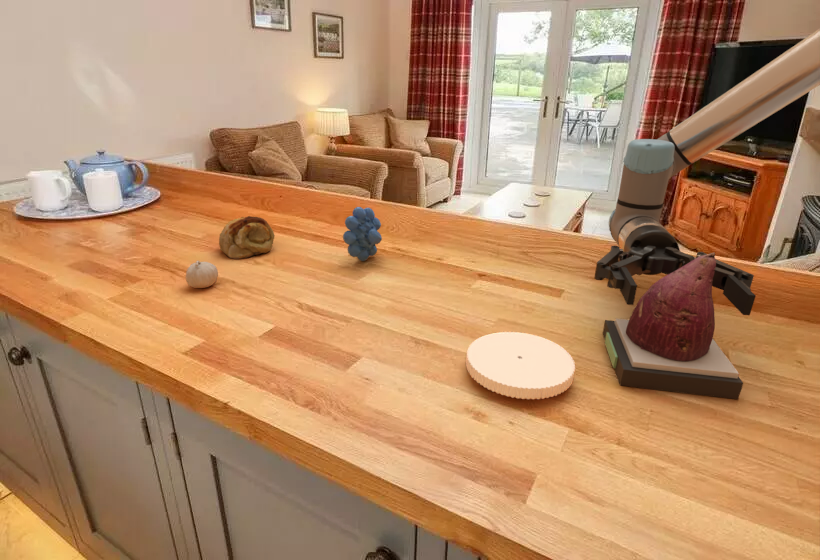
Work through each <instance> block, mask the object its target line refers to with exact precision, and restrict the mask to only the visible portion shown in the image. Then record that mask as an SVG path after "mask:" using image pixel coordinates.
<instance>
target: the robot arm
mask: <svg viewBox="0 0 820 560" xmlns="http://www.w3.org/2000/svg"><path fill="white" fill-rule="evenodd" d="M819 86H820V28H818V29H817V30H815V31H814V32H812V33H811V34H810V35H808V36H806V37H805V38H804V39H802V40H801V41H799V42H797V43H796V44H795V45H794V46H792V47H790V48H789V49H787V50H786V51H784V52H783V53H782V54H780V55H779V56H776V58H774V59H773V60H771V61H770V62H769V63H766V64H765V65H764V66H762V67H761V68H760V69H758V70H756V71H755V72H754V73H752V74H751V75H749V76H747V77H746V78H745V79H743V80H742V81H741V82H739V83H737V84H736V85H734V86H733V87H732V88H730V89H728V90H727V91H726V92H724V93H722V94H721V95H720V96H718V97H716V98H715V99H714V100H713V101H711V102H710V103H708V104H707V105H705V106H703V107H702V108H700V109H699V110H697V111H696V112H695V113H694V114H692V115H691V116H689V117H688V118H686V119H685V120H683V121H682V122H680V123H678V124H677V125H676V126H675V127H673V128H671V129H670V130H669V131H668V132H666V133H664V134H663V135H660V137H658V138H657V139H654V138H637V139H632V140H631V141H629V142H628V144H627V148H626V152H625V155H624V158H623V161H622V163H623V166H622V171H621V172H622V173H621V179H620V184H619V191H618V196H617V201H616V203H615V204H616V205H615V208H614V210H613V211H612V212H611V213H610V216H609V218H608V230H609V232H610V235H611V238H612V240H613V241H614V242H615V243H616V244H617V245H611V246H610V251H609V252H607V253H606V254H605V255H604V256H602V257H601V258H600V259H599V260H598V261H596V266H595V270H594V276H593V278H594V280H596V281H603V280H604V279H606V280H607V284H606V287H608V288H610V289H615V290H616V289H617V290H619V292H620V293H621V295H622V298H623V299H624V301H625V303H626V305H628V306H630V305H631V306H634V303H635V299H636V293H637V289H638V284H637V282H636V281H635V279H634V277H633V276H642V275H644V276H645V275H646V276H655V275H660V274H664V275H665V276H666V275H668V274H670V273H672V272H674V271H676V270H678V269H679V268H681V267H683V266H684V265H686V264H688V263H689V262H691V261H693V260H694V259H696V258H698V257H700V256H703V255H708V253H705V252H704V251H697V252H696V256H693V255H691V254H688V253H686V252H683V251H681V249H680V245H679V243H678V241H677V240H676V238H675V236H674V235H672V234H671V233H670V232H669V230H667V228H666V227H664V225H663V224H662V223H661V222H660V220H661V215H662V212H663V207H664V202H665V197H666V193H667V188H668V185H669V180H670V179H671V178H672V177H673V176H675V175H677V174H679V173H680V172H681V171H683V170H685V169H686V168H688V167H689V166H690V165H692V164H694V163H695V162H697V161H699V160H700V159H702V158H704V157H705V156H707V155H708V154H710V153H711V152H713V151H715V150H716V149H718V148H720V147H721V146H723V145H725V144H726V143H728V142H730V141H731V140H733V139H735V138H736V137H738V136H739V135H741V134H743V133H744V132H746V131H747V130H749V129H751V128H752V127H754V126H756V125H757V124H758V123H759V124H760V122H762V121H764V120H765V119H767V118H769V117H770V116H772V115H773V114H775V113H777V112H778V111H780V110H782V109H783V108H785V107H786V106H789V105H790V104H791V103H793V102H795V101H797V100H798V99H800V98H801V97H803V96H804V95H806V94H807V93H809V92H811V91H812V90H814V89H816V88H817V87H819ZM715 259H716V268H715V272H714V276H713V282H712V288H715V289H719V290H721V291H722V295H723V296H724V297H725V299H727V300H728V301H729V302H730V303H731V304H732V305H733V306H734V307H735V308H736V309H737V310H738V311H739V312H740V313H741V314H742V316H750V315H751V312H752V309H753V306H754V303H755V300H756V296H757V295H756V294H755V293H754V292H752V288H751V286H752V283H753V280H754V277H755V275H754V274H753V273H751V272H748V271H745V270H743V269H741V268H738V267H736V266H734V265H731V264H729V263H726V262H724V261H721V260H719V259H717V258H715Z"/></svg>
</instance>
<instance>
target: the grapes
mask: <svg viewBox="0 0 820 560" xmlns="http://www.w3.org/2000/svg"><path fill="white" fill-rule="evenodd" d="M344 225H345V227H346V229H347V230H346V231H345V232H344V233H343V235H342V240H343V242H344V243H345V244H346V245H348V246H347V253H348V254H349V256H350V257H353V258H357V259H358V261H360V262H365V261H367V260H368V259H369V258H370V257H373V256H375V255H376V254H377V253H378V248H377V247H378V246H377V245H378V244H380V243H381V242H382V241H383V236H382V235H381V233H380V232H379V230H380V229H381V227H382V223H381V220H380V219H379V218H377V216H376V214H375V211H374V210H373V209H372V208H371V207H365V208H363V207H361V206H356V207H355V208H353V210H352V215H349V216H347V217H346V218H345V220H344Z"/></svg>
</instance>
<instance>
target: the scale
mask: <svg viewBox="0 0 820 560" xmlns="http://www.w3.org/2000/svg"><path fill="white" fill-rule="evenodd" d="M628 322H629V319H628V318H627V319H626V318H615V319H614V320H610V319H605V320H604V324H603V329H602V337H603V340H604V345H605V347H606V348H605V349H606V350H607V354H608V357H609V360H610V362H611V365H612V368H613V369H614V372H615V375H616V377H617V380H618V384H619V386H621V387H630V388H637V389H638V388H639V389H646V390H655V391H664V392H670V393H671V392H673V393H680V394H688V395H689V394H690V395H695V396H696V395H698V396H706V397H712V398H713V397H714V398H722V399H732V400H739V398H740V395H741V392H742V389H743V386H744V382H743V381H742V379H741V377H740V376H739V375H740V372H739V371H738V370H737V369H736V367H735V366H734V364H733V363H732V362H731V361H730V359H729V358H728V357H727V356H726V355H727V354H725V353H724V351H723V350H722V349H721V348H720V346H719V344H718V343H717V342H716V341H715V339H714V338H713V339H712V342H711V345H710V347H709V348H710V349H709V350H708V353H707V354H706V355H704V356H702V357H701V358H699V359H696V360H692V361H688V362H687V361H686V362H684V361H676V360H671V359H667V358H663V357H661V356H658V355H655V354H653V353H651V352H648V351H646V350H644V349H641V348H640V347H639V346H637V345H636V344H635V343H633V342H632V341H631V340H630V338H629V337H628V336H627V334H626V328H627V325H628Z"/></svg>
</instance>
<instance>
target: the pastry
mask: <svg viewBox="0 0 820 560" xmlns="http://www.w3.org/2000/svg"><path fill="white" fill-rule="evenodd" d="M221 230H222V231H220V233H219V237H218V246H219V250H220V251H221V252H222V253H223V254H225V255H226V256H227V257H228V258H229V259H234V260H239V259H247V258H251V257H253V256H255V255H261V254H266V253H268V252H271V250H272V247H273V244H274V239H275V232H274V230H273V228H272V227H271V225H270V224H269V223H268V221H267V220H266V219H264V218H262V217H259V216H250V215H248V216H241V217H238V218H234V219H232V220H230V221H228V222H227V223H226V224H225V225H224V227H223V228H222V229H221Z"/></svg>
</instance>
